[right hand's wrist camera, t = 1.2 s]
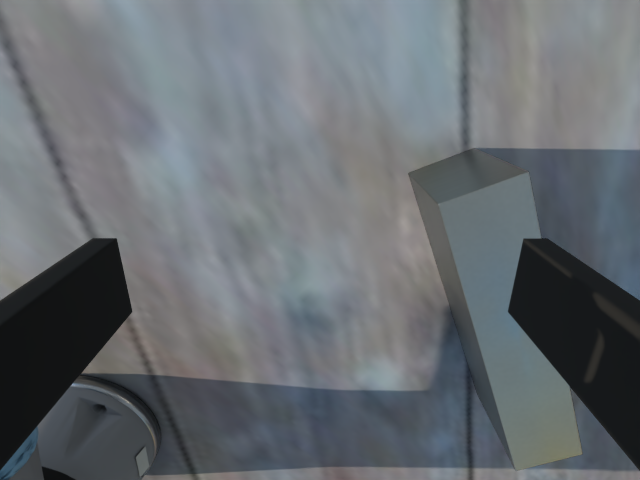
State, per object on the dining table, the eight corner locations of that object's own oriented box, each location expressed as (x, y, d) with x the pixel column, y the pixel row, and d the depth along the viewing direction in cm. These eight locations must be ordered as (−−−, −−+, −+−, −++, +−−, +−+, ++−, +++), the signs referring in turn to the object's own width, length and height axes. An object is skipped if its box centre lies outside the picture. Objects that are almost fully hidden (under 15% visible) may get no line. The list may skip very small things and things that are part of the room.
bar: (408, 172, 31) (437, 204, 23) (474, 147, 30) (529, 171, 22) (476, 393, 40) (515, 471, 32) (530, 378, 39) (583, 454, 31)
